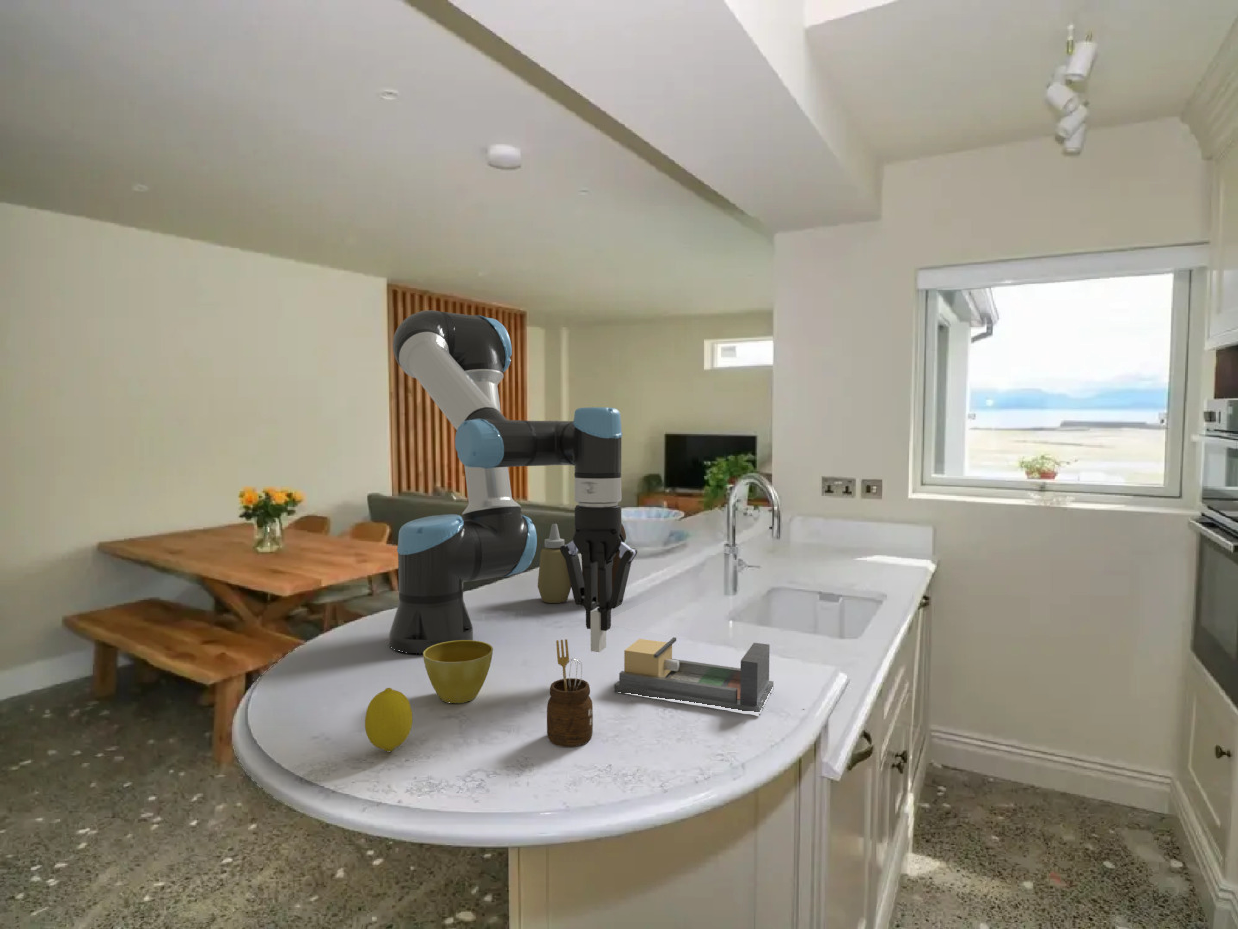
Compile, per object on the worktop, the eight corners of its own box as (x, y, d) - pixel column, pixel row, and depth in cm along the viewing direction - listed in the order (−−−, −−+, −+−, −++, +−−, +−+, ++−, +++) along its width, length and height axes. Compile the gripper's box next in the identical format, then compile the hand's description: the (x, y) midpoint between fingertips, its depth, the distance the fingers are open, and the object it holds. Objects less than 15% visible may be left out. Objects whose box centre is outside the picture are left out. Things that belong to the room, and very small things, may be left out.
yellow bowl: (477, 714, 96) (477, 664, 95) (411, 708, 97) (410, 659, 97) (502, 687, 106) (502, 642, 105) (441, 683, 107) (441, 638, 107)
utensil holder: (555, 752, 84) (555, 656, 84) (540, 731, 90) (540, 642, 89) (599, 744, 87) (599, 650, 86) (582, 724, 92) (582, 637, 92)
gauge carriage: (620, 681, 104) (620, 649, 104) (642, 662, 113) (642, 633, 112) (667, 689, 101) (668, 656, 101) (686, 669, 110) (686, 639, 109)
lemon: (372, 742, 87) (371, 680, 86) (416, 740, 87) (416, 679, 87) (359, 763, 81) (358, 697, 81) (407, 762, 82) (406, 696, 81)
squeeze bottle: (574, 597, 163) (574, 522, 162) (568, 605, 155) (568, 526, 154) (541, 596, 164) (541, 521, 163) (533, 604, 156) (533, 526, 155)
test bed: (614, 692, 104) (614, 645, 103) (640, 669, 114) (640, 626, 113) (759, 716, 95) (759, 665, 95) (773, 689, 105) (774, 643, 105)
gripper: (550, 504, 108) (551, 651, 109) (626, 507, 103) (626, 661, 104) (572, 500, 115) (573, 638, 116) (644, 503, 110) (644, 647, 111)
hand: (598, 649), depth 110 cm, fingers closed
